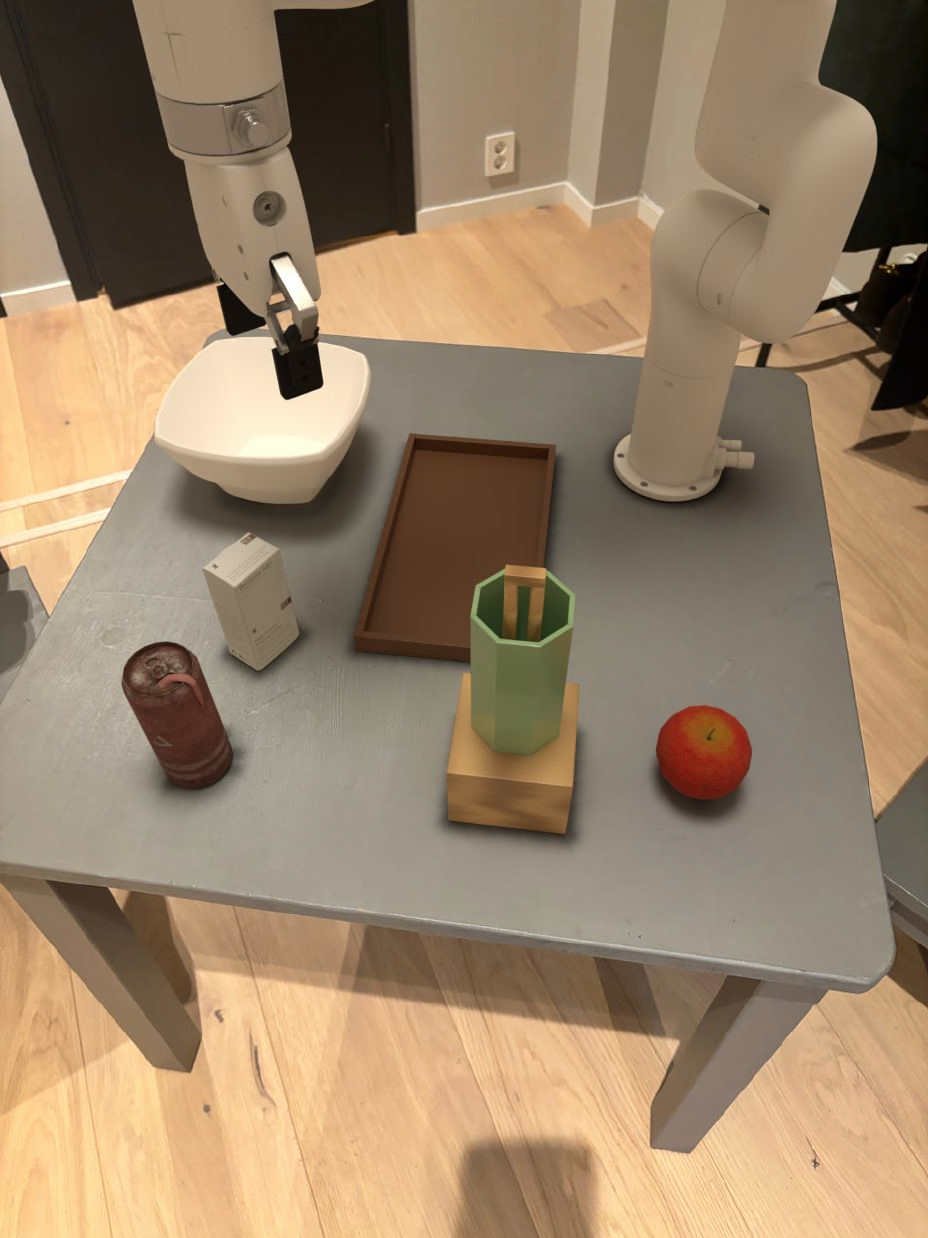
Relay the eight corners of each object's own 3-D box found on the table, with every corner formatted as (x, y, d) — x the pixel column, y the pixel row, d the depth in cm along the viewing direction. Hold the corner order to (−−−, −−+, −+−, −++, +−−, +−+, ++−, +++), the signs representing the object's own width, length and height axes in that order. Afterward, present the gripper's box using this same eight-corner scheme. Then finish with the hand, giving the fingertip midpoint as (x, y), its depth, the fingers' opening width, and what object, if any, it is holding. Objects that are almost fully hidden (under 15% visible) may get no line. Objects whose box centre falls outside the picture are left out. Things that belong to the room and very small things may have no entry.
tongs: (534, 710, 74) (546, 567, 61) (533, 720, 73) (545, 578, 60) (500, 706, 74) (505, 564, 61) (499, 716, 74) (504, 574, 61)
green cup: (562, 686, 76) (577, 573, 65) (557, 758, 71) (571, 650, 61) (478, 677, 77) (479, 564, 66) (467, 749, 72) (466, 639, 61)
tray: (554, 459, 108) (556, 444, 106) (532, 668, 87) (533, 654, 86) (410, 448, 109) (409, 432, 107) (355, 650, 89) (353, 636, 87)
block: (571, 735, 82) (579, 683, 76) (565, 834, 76) (573, 787, 70) (464, 723, 83) (463, 672, 77) (448, 820, 77) (446, 772, 71)
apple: (702, 727, 83) (720, 676, 77) (757, 794, 78) (781, 746, 72) (632, 760, 81) (645, 711, 75) (685, 831, 76) (703, 785, 70)
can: (221, 796, 79) (181, 705, 68) (154, 784, 79) (104, 692, 69) (246, 738, 82) (212, 643, 72) (181, 727, 83) (138, 632, 73)
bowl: (394, 427, 112) (387, 345, 103) (349, 552, 98) (336, 470, 89) (225, 409, 114) (204, 328, 106) (157, 529, 100) (126, 446, 92)
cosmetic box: (260, 674, 87) (234, 590, 78) (227, 653, 89) (198, 568, 80) (302, 633, 90) (283, 549, 81) (270, 614, 92) (247, 529, 83)
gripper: (347, 150, 51) (373, 401, 64) (227, 58, 60) (271, 294, 73) (223, 183, 48) (277, 438, 61) (118, 82, 58) (184, 321, 71)
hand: (274, 359), depth 67 cm, fingers open, 9 cm apart
